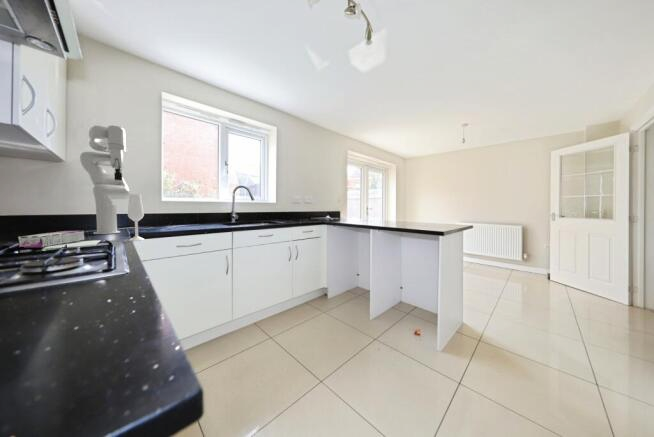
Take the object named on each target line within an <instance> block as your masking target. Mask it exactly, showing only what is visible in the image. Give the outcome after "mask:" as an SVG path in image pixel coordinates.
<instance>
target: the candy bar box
mask: <svg viewBox="0 0 654 437" xmlns="http://www.w3.org/2000/svg"><path fill="white" fill-rule="evenodd" d="M85 237H86V236H85V231H84V230H63V231H56V232H55V231H54V232H46V233H38V234H30V235H23V236H18V237H17V238H18V245H19V246H18V247H19V248H20V247H24V248H45V247H48V246H52V245H58V244H64V243H69V242H79V241H86V240H85Z"/></svg>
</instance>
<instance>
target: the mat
mask: <svg viewBox="0 0 654 437" xmlns="http://www.w3.org/2000/svg"><path fill="white" fill-rule="evenodd" d="M100 242H101V239H99V240H96V239H95V240H81V241H75V242H69V243H64V244H58V245H52V246H46V247H42V250H54V249H63V248H62V247H64V246H65V245H67V248H66V249H69V248H83V247H85V248H86V247H94V246H96V245H97V244H99V243H100Z"/></svg>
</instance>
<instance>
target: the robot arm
mask: <svg viewBox="0 0 654 437" xmlns="http://www.w3.org/2000/svg"><path fill="white" fill-rule="evenodd" d="M88 136H89V139H90V140H89V142H88V144H89V146H90V148H91V149H93V150H94V151H83V152H81V154H80V157H79V159H80V164H81V166H82V168H83V169H84V170H85V171H86V172H87V173H88V175H89V177H90V180H91V182H92V185H94V186H93V187H92V192H93V196H94V200H95V201H94V202H95V211H96V231H94V232H93V234H94V235H110V234H111V235H112V234H120V233H121V230H118V221H117V220H118V216H117V215H118V214H117V206H116V203H114V202H113V201H112V200H127V199H129V194H131V192H130V188H129V186H128V184H127V183H126V181H125V179H124V177H123V173H122V169H124V153H126V152H127V147H126V130H125V128H123V127H121V126H118V125H108V126H107V127H106V126H102V125H93V126H91V127H90V129H89V131H88ZM104 152H105V153H104ZM102 166H103V167H111V168H112V169H114V174H108V173H107V172H106V170H105V169H104V168H103V167H102Z"/></svg>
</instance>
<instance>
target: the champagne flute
mask: <svg viewBox="0 0 654 437" xmlns="http://www.w3.org/2000/svg"><path fill="white" fill-rule="evenodd" d="M144 216H145V214H144V207H143V200H142V194H134V193H132V194H131V193H130V194H129V198H128V207H127V217H128V218H129V219H130V220H132V221H133V222H134V232H135V233H134V236H133V237H132V238H130V239H129V241H130V242H131V241H143V240H145V238H143V237H141V236H139V228H138V227H139V223H138V222H139V221H141V220H142V219H143V218H144Z"/></svg>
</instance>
